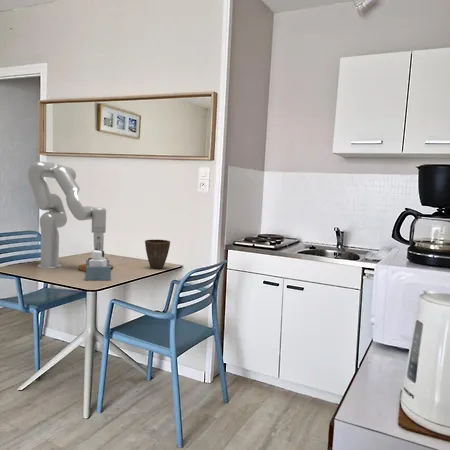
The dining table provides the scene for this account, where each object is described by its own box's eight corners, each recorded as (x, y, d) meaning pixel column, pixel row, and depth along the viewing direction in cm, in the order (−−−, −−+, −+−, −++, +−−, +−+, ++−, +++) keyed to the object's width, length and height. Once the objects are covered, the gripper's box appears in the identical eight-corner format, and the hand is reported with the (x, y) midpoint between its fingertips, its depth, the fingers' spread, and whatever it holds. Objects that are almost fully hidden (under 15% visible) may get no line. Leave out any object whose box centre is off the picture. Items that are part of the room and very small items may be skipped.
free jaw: (86, 268, 232) (86, 257, 232) (108, 268, 236) (109, 257, 235) (86, 269, 229) (86, 258, 228) (109, 269, 233) (109, 258, 232)
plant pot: (157, 271, 244) (158, 243, 242) (138, 267, 252) (139, 240, 250) (174, 267, 256) (175, 241, 255) (155, 264, 264) (156, 238, 263)
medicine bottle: (93, 271, 227) (93, 248, 226) (106, 271, 227) (107, 249, 226) (88, 273, 220) (89, 250, 219) (102, 274, 220) (102, 251, 219)
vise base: (86, 270, 235) (86, 258, 235) (108, 270, 239) (108, 258, 238) (85, 280, 211) (85, 267, 211) (110, 280, 215) (110, 267, 214)
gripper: (106, 231, 231) (105, 264, 233) (105, 228, 245) (104, 259, 247) (91, 231, 229) (90, 264, 230) (91, 228, 243) (90, 259, 244)
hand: (97, 262), depth 238 cm, fingers closed
